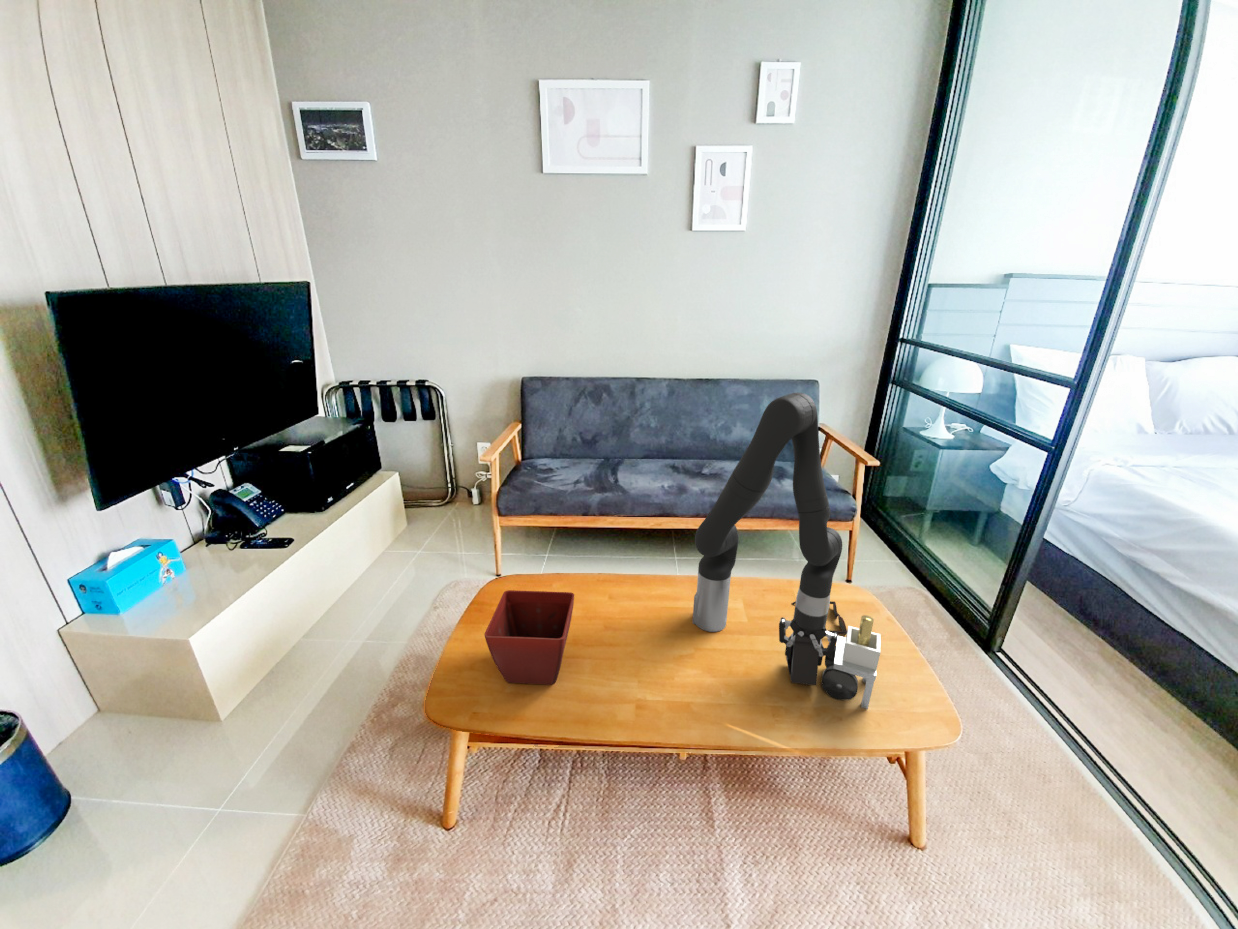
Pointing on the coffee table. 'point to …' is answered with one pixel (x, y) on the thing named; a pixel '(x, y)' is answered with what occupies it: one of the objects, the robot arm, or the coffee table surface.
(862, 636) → the pin
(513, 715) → the coffee table surface
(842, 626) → the eyeglasses
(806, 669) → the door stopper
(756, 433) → the robot arm
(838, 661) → the trolley
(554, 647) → the plant pot
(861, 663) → the tray
